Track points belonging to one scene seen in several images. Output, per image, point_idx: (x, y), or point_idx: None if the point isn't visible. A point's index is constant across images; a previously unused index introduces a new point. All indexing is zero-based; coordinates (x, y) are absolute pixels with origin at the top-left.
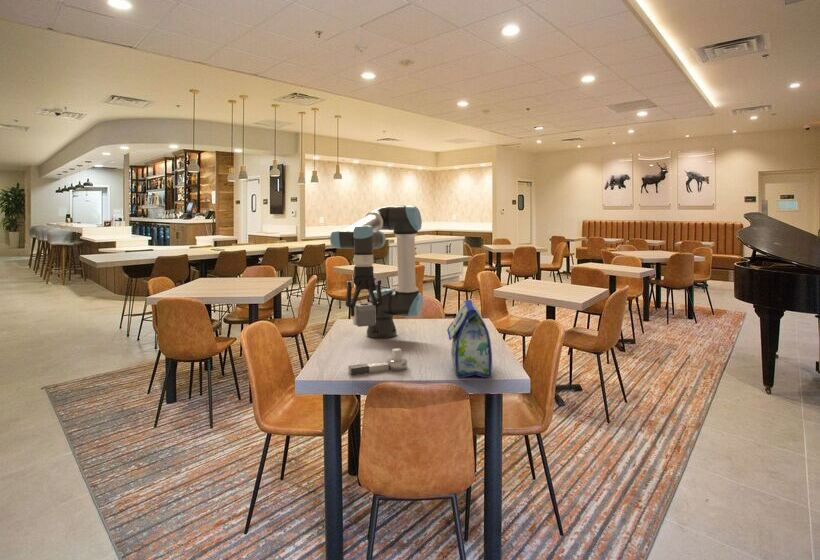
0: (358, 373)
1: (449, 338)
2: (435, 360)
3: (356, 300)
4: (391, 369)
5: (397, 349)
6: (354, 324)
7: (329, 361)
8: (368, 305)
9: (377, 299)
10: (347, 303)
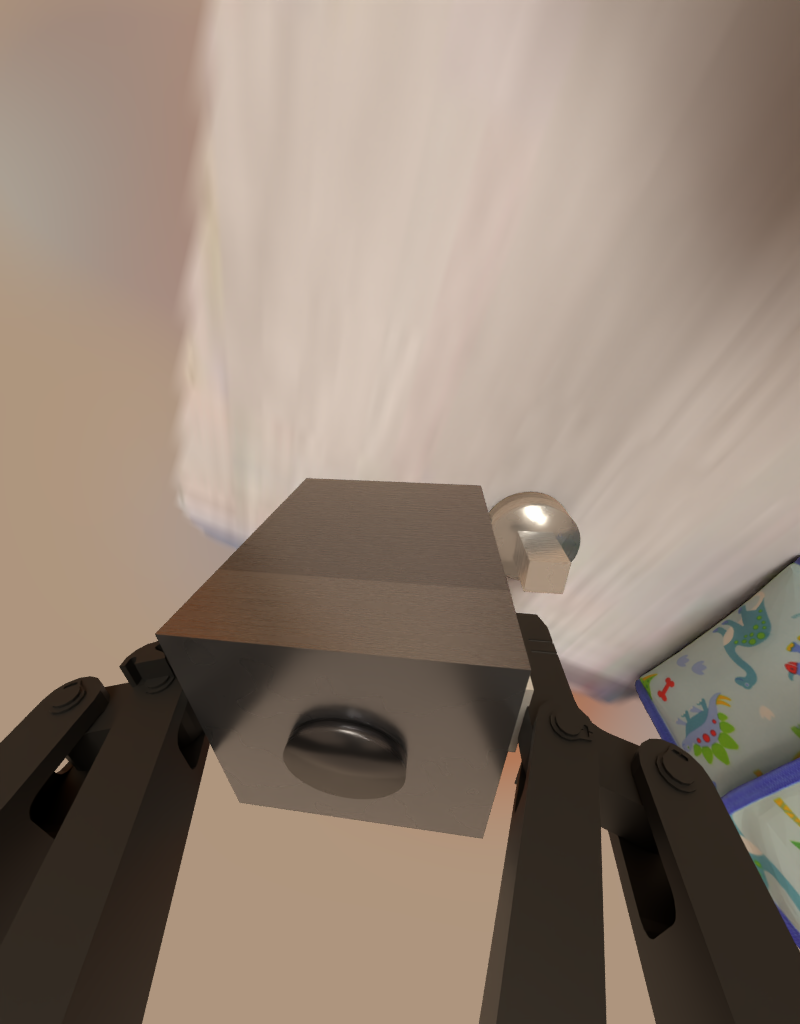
0: None
1: (741, 791)
2: (751, 500)
3: (170, 868)
4: None
5: (548, 580)
6: None
7: (269, 305)
8: (386, 819)
9: (671, 865)
10: (65, 792)
